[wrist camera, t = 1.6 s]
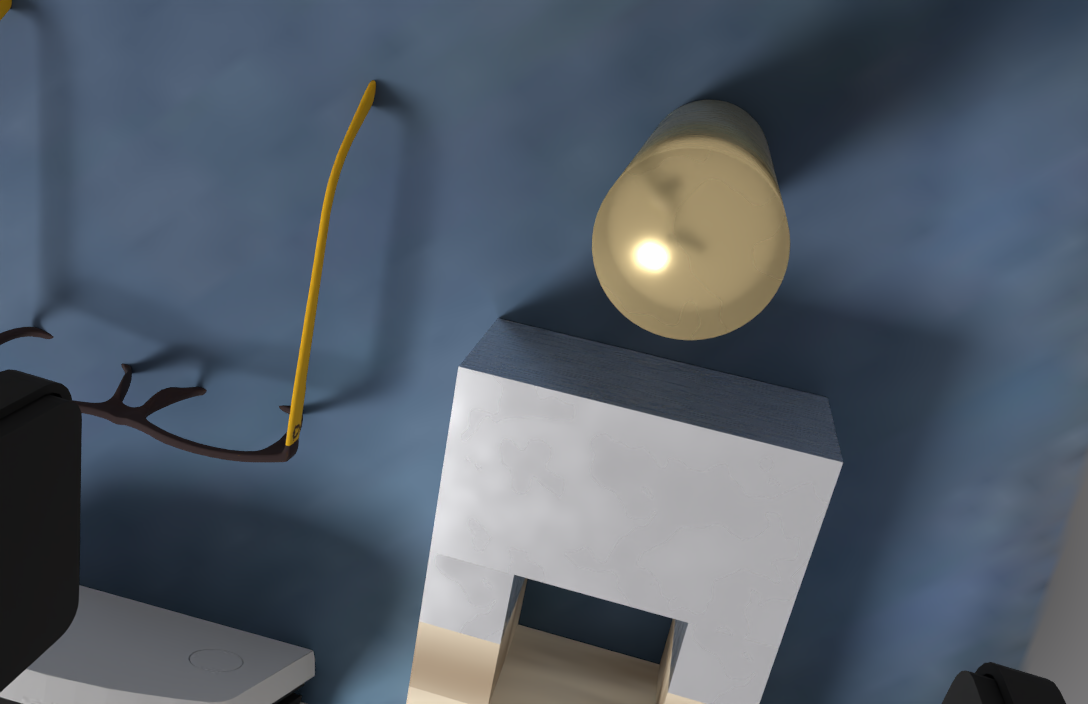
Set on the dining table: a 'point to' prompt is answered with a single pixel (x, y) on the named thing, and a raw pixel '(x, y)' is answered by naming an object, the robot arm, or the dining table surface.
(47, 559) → the robot arm
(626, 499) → the gray notched block
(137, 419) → the eyeglasses
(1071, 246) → the dining table surface
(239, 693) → the white black arched block
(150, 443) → the dining table surface
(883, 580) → the dining table surface
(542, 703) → the notched wooden block
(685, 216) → the brass pin
